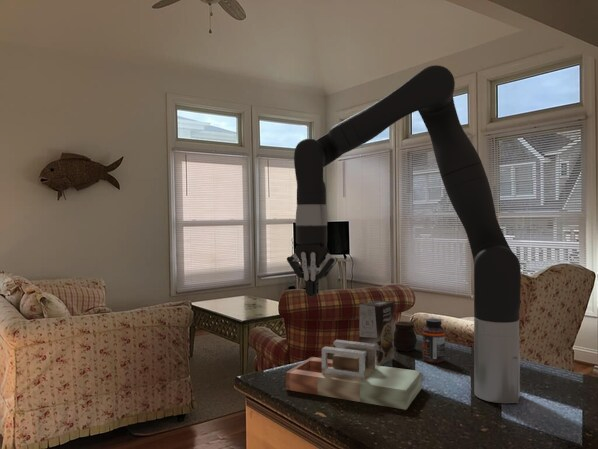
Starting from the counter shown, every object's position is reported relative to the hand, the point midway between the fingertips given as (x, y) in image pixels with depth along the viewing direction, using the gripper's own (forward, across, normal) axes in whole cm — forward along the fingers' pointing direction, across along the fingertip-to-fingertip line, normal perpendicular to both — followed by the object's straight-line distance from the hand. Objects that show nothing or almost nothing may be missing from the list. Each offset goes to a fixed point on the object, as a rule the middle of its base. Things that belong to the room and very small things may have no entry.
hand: (311, 296), depth 119 cm
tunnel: (+17, -9, 0) cm, 19 cm away
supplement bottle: (+21, -22, -31) cm, 44 cm away
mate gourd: (+21, -12, -39) cm, 46 cm away
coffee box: (+21, -8, -24) cm, 33 cm away
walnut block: (+17, -10, 0) cm, 19 cm away
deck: (+21, -10, 0) cm, 23 cm away
